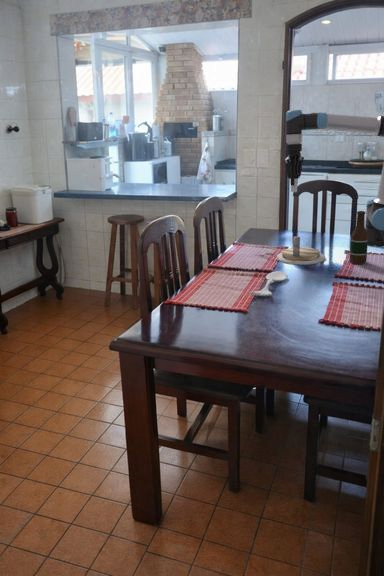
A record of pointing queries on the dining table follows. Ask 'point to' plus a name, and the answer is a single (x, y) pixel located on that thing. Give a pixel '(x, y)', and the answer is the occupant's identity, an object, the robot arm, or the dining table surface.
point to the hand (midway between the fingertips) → (294, 191)
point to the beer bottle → (359, 241)
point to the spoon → (271, 278)
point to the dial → (300, 252)
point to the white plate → (301, 261)
